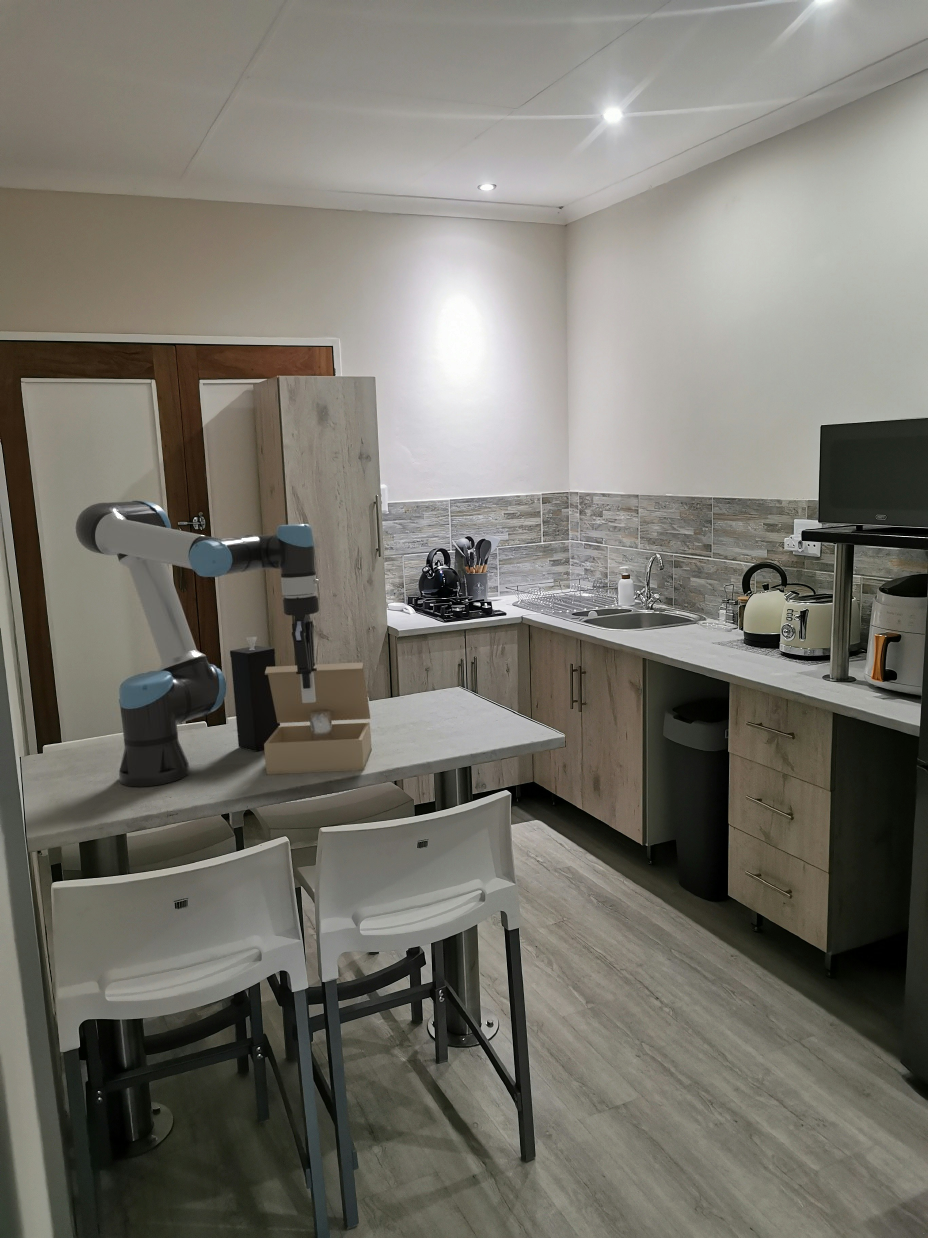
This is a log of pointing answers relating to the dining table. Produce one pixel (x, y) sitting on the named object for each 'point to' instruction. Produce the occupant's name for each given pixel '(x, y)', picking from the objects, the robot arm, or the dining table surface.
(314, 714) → the tin
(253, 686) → the black pedestal
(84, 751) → the dining table surface
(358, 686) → the lid
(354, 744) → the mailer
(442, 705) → the dining table surface
